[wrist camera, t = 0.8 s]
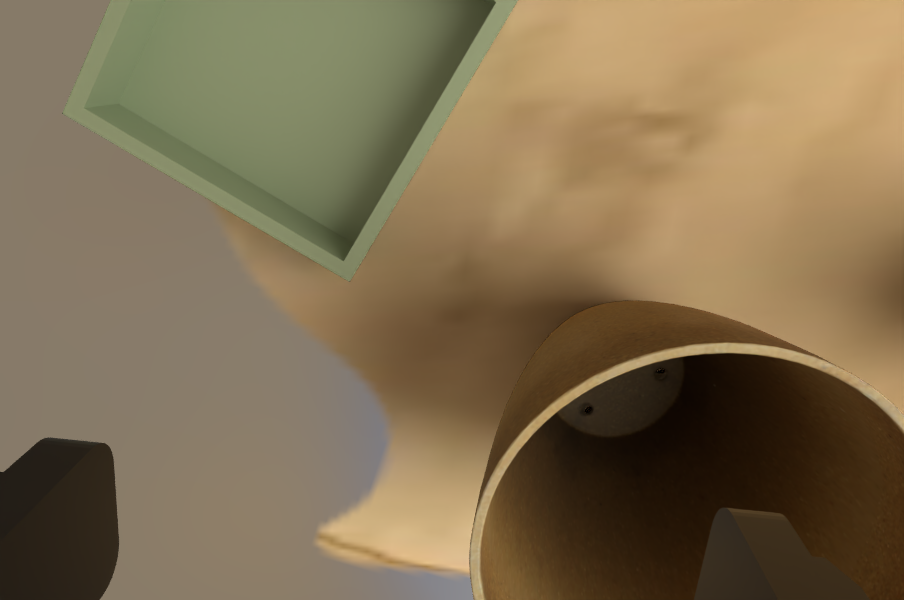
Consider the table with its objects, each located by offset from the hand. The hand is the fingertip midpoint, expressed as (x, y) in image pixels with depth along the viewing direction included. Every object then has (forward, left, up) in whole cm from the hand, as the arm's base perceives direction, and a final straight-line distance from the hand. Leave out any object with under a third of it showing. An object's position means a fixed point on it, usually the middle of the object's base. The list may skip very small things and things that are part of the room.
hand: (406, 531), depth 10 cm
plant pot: (+4, +12, -28) cm, 30 cm away
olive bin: (-1, -9, -27) cm, 29 cm away
